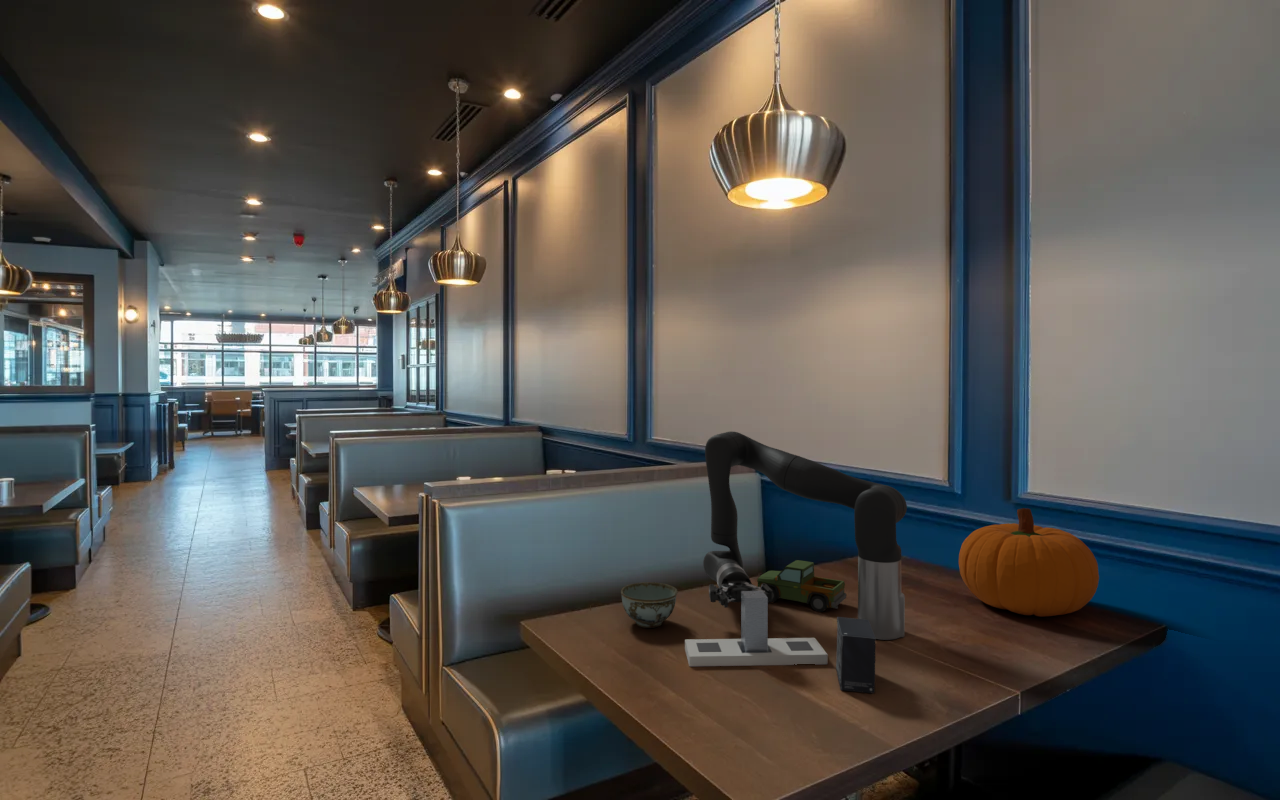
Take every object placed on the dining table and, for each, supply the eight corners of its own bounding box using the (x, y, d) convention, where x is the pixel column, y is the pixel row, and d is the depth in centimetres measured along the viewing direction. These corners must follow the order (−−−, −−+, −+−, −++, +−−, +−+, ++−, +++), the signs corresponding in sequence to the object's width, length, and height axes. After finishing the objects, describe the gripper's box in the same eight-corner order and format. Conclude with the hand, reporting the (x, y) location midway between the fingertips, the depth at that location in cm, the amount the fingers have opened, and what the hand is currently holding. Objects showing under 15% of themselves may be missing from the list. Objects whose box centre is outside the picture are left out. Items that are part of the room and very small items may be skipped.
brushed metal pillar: (762, 651, 142) (762, 590, 142) (767, 660, 138) (767, 597, 137) (741, 652, 142) (741, 591, 142) (745, 661, 137) (745, 598, 137)
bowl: (613, 617, 163) (613, 584, 163) (665, 611, 168) (665, 579, 167) (630, 637, 151) (630, 601, 150) (686, 630, 155) (686, 595, 154)
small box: (877, 694, 122) (877, 637, 122) (840, 691, 124) (840, 635, 124) (869, 670, 133) (869, 618, 133) (835, 667, 134) (835, 615, 134)
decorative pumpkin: (1120, 611, 167) (1121, 511, 167) (1062, 637, 150) (1064, 525, 150) (995, 581, 193) (996, 494, 192) (934, 600, 176) (935, 505, 175)
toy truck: (770, 590, 185) (770, 554, 185) (848, 604, 174) (848, 565, 173) (753, 601, 176) (753, 563, 176) (834, 616, 164) (834, 576, 164)
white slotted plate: (814, 646, 145) (814, 637, 145) (827, 664, 136) (827, 654, 136) (684, 648, 144) (684, 639, 144) (689, 666, 135) (689, 656, 135)
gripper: (704, 566, 165) (713, 586, 149) (762, 566, 166) (777, 585, 149) (704, 597, 165) (713, 620, 149) (762, 596, 166) (777, 619, 149)
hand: (745, 603), depth 149 cm, fingers open, 8 cm apart
